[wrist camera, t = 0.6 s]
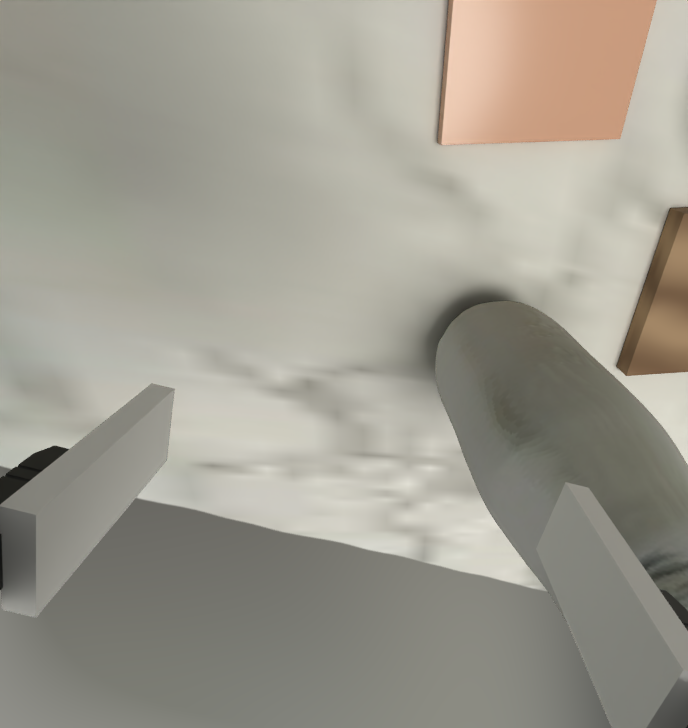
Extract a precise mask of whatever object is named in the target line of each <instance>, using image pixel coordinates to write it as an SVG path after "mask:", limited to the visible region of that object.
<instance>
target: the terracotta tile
mask: <svg viewBox="0 0 688 728" xmlns="http://www.w3.org/2000/svg"><path fill="white" fill-rule="evenodd" d="M656 1H657V0H449V4H448V16H447V29H446V42H445V54H444V67H443V80H442V92H441V105H440V118H439V130H438V143H439V144H441V145H455V144H485V143H514V142H543V141H572V140H602V139H620V137H621V133H622V130H623V126H624V122H625V118H626V114H627V111H628V107H629V103H630V99H631V96H632V92H633V88H634V84H635V80H636V77H637V73H638V69H639V65H640V62H641V58H642V54H643V50H644V47H645V43H646V39H647V35H648V31H649V28H650V24H651V20H652V16H653V13H654V9H655V5H656Z"/></svg>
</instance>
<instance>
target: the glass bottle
mask: <svg viewBox="0 0 688 728" xmlns="http://www.w3.org/2000/svg"><path fill="white" fill-rule="evenodd" d="M435 374H436V383H437V387H438V391H439V394H440V397H441V400H442V402H443V405H444V407H445V409H446V412H447V414H448V416H449V419H450V421H451V423H452V425H453V428H454V430H455V433H456V435H457V438H458V441H459V444H460V446H461V449H462V452H463V455H464V457H465V460H466V462H467V465H468V467H469V470H470V472H471V475H472V477H473V480H474V482H475V484H476V487H477V489H478V491H479V493H480V495H481V497H482V499H483V501H484V503H485V505H486V507H487V509H488V510H489V512H490V514H491V515H492V517H493V519H494V520H495V522H496V523H497V524H498V526H499V527H500V529H501V530H502V531H503V533H504V534H505V536H506V537H507V538H508V540H509V541H510V542H511V544H512V545H513V547H514V548H515V549H516V551H517V552H518V553H519V555H520V556H521V557H522V559H523V560H524V561H525V563H526V564H527V565H528V567H529V568H530V569H531V570H532V572H533V573H534V574H535V575H536V577H537V578H538V579H539V580H540V582H541V583H542V584H543V586H544V587H545V588H546V590H547V591H548V593H549V594H550V596H551V598H552V599H553V601H554V603H555V604H556V606H557V607H558V609H559V611H560V612H561V613H562V615H563V617H564V619H565V616H564V614H563V611H562V609H561V607H560V604H559V602H558V600H557V597H556V595H555V593H554V590H553V588H552V585H551V583H550V581H549V578H548V576H547V574H546V571H545V569H544V567H543V564H542V562H541V559H540V557H539V555H538V552H537V550H536V548H537V545H538V543H539V541H540V539H541V536H542V534H543V532H544V530H545V527H546V525H547V523H548V521H549V518H550V516H551V514H552V512H553V509H554V507H555V505H556V503H557V500H558V498H559V496H560V494H561V491H562V489H563V487H564V485H565V482H567V483H571V484H575V485H580V486H584V487H588V488H589V489H590V491H591V492H592V493H593V495H594V496H595V498H596V499H597V501H598V502H599V504H600V505H601V506H602V508H603V509H604V511H605V512H606V514H607V515H608V517H609V518H610V519H611V521H612V522H613V524H614V525H615V527H616V528H617V530H618V531H619V532H620V534H621V535H622V537H623V538H624V540H625V541H626V543H627V544H628V545H629V547H630V548H631V550H632V551H633V553H634V554H635V556H636V557H637V558H638V560H639V561H640V563H641V564H642V566H643V567H644V568H645V570H646V571H647V573H648V574H649V576H650V577H651V579H652V580H653V581H654V583H655V584H656V586H657V587H658V589H661V590H665V591H667V592H668V593H670V594H671V595H672V596H673V597H674V598H675V599H676V600H677V601H678V602H679V603H680V604H681V605H683V606H684V607H685V608H686V609H687V611H688V465H687V463H686V462H685V460H684V458H683V456H682V455H681V453H680V452H679V450H678V448H677V447H676V445H675V444H674V442H673V441H672V439H671V438H670V436H669V435H668V433H667V432H666V431H665V429H664V428H663V427H662V426H661V425H660V423H659V422H658V421H657V420H656V419H655V417H654V416H653V415H652V414H651V413H650V412H649V411H648V410H647V409H646V408H645V406H644V405H643V404H642V403H641V402H640V401H639V400H638V399H637V398H636V397H635V396H634V395H633V394H632V393H631V392H630V391H629V390H628V389H627V388H626V387H625V386H624V385H623V384H621V383H620V382H619V381H618V380H617V379H616V378H615V377H614V376H613V375H612V374H611V373H610V372H609V371H608V370H607V369H605V368H604V367H603V366H602V365H601V364H600V363H599V362H598V361H597V360H596V359H595V358H593V357H592V356H591V355H590V354H589V353H588V352H587V351H586V350H585V349H584V348H583V347H582V346H581V345H580V344H579V343H578V342H577V341H576V340H575V339H574V338H573V337H572V336H571V335H570V334H569V333H568V332H567V331H566V330H565V329H564V328H562V327H561V326H560V325H559V324H558V323H556V322H555V321H554V320H553V319H551V318H550V317H548V316H547V315H545V314H544V313H542V312H541V311H539V310H537V309H535V308H533V307H531V306H528V305H525V304H522V303H518V302H512V301H496V302H488V303H482V304H478V305H475V306H473V307H470V308H469V309H467V310H465V311H463V312H462V313H461V314H460V315H459V316H458V317H457V318H456V319H454V320H453V321H452V322H451V323H450V325H449V326H448V328H447V330H446V331H445V333H444V335H443V336H442V338H441V340H440V341H439V344H438V348H437V353H436V371H435ZM565 620H566V619H565ZM566 622H567V621H566Z"/></svg>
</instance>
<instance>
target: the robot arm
mask: <svg viewBox="0 0 688 728" xmlns="http://www.w3.org/2000/svg"><path fill="white" fill-rule="evenodd" d="M174 390H175V389H173V388H169V387H165V386H160V385H156V384H151V385H149V386H148V387H147V388H146V389H144V390H143V391H142V392H141V393H139V394H138V395H137V396H136V397H134V398H133V399H132V400H131V401H129V402H128V403H127V404H126V405H124V406H123V407H122V408H121V409H119V410H118V411H117V412H116V413H114V414H113V415H112V416H110V417H109V418H108V419H107V420H105V421H104V422H103V423H102V424H100V425H99V426H98V427H97V428H95V429H94V430H93V431H92V432H90V433H89V434H88V435H87V436H85V437H84V438H83V439H82V440H80V441H79V442H78V443H77V444H75V445H74V446H73V447H72V448H70V449H66V448H62V447H58V446H52V447H50V448H47V449H44V450H42V451H39V452H37V453H34V454H33V455H31V456H30V457H28V458H27V459H26V460H24V461H23V462H22V463H20V464H19V465H18V467H15V468H13V469H12V470H11V471H9V472H8V473H7V474H6V476H5V477H4V476H3V477H1V478H0V590H1V599H2V610H6V611H11V612H15V613H19V614H23V615H27V616H31V617H37V616H38V615H39V613H40V612H41V611H42V610H43V608H44V607H45V606H46V605H47V604H48V603H49V601H50V600H51V599H52V598H53V596H54V595H55V594H56V593H57V592H58V591H59V589H60V588H61V587H62V586H63V585H64V583H65V582H66V581H67V580H68V579H69V577H70V576H71V575H72V574H73V573H74V571H75V570H76V569H77V568H78V566H79V565H80V564H81V563H82V562H83V561H84V559H85V558H86V557H87V556H88V554H89V553H90V552H91V551H92V550H93V548H94V547H95V546H96V545H97V544H98V542H99V541H100V540H101V539H102V538H103V536H104V535H105V534H106V533H107V532H108V530H109V529H110V528H111V527H112V525H113V524H114V523H115V522H116V521H117V520H118V518H119V517H120V516H121V515H122V514H123V512H124V511H125V510H126V509H127V508H128V506H129V505H130V504H131V503H132V502H133V500H134V499H135V498H136V497H137V496H138V494H139V493H140V492H141V491H142V490H143V488H144V487H145V486H146V485H147V484H148V482H149V481H150V480H151V479H152V478H153V476H154V475H155V474H156V473H157V472H158V470H159V469H160V468H161V467H162V466H163V464H164V463H165V462H166V461H167V454H168V445H169V436H170V426H171V417H172V408H173V399H174ZM536 550H537V552H538V555H539V557H540V559H541V562H542V564H543V567H544V569H545V571H546V574H547V576H548V578H549V581H550V583H551V585H552V588H553V590H554V593H555V595H556V597H557V600H558V602H559V604H560V607H561V609H562V611H563V614H564V616H565V619H566V621H567V623H568V626H569V628H570V630H571V632H572V635H573V637H574V640H575V642H576V644H577V647H578V649H579V652H580V654H581V656H582V659H583V661H584V663H585V665H586V668H587V670H588V673H589V675H590V677H591V680H592V682H593V684H594V687H595V689H596V692H597V694H598V696H599V699H600V701H601V704H602V706H603V708H604V711H605V713H606V715H607V718H608V720H609V722H610V725H611V727H612V728H688V611H687V609H686V608H685V607H684V606H683V605H681V604H680V603H679V602H678V601H677V600H676V599H675V598H674V597H673V596H672V595H671V594H670V593H668V592H667V591H665V590H661V589H658V587H657V586H656V584H655V583H654V581H653V580H652V579H651V577H650V576H649V574H648V573H647V571H646V570H645V568H644V567H643V566H642V564H641V563H640V561H639V560H638V558H637V557H636V556H635V554H634V553H633V551H632V550H631V548H630V547H629V545H628V544H627V543H626V541H625V540H624V538H623V537H622V535H621V534H620V532H619V531H618V530H617V528H616V527H615V525H614V524H613V522H612V521H611V519H610V518H609V517H608V515H607V514H606V512H605V511H604V509H603V508H602V506H601V505H600V504H599V502H598V501H597V499H596V498H595V496H594V495H593V493H592V492H591V491H590V489H589V488H588V487H584V486H580V485H575V484H571V483H567V482H565V485H564V487H563V489H562V491H561V494H560V496H559V498H558V500H557V503H556V505H555V507H554V509H553V512H552V514H551V516H550V518H549V521H548V523H547V525H546V527H545V530H544V532H543V534H542V536H541V539H540V541H539V543H538V545H537V548H536Z"/></svg>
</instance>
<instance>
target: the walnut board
mask: <svg viewBox="0 0 688 728" xmlns="http://www.w3.org/2000/svg"><path fill="white" fill-rule="evenodd" d="M617 368H619V369H620V370H621V371H622V372H623V373H624V374H625V375H626V376H631V375H646V374H661V373H676V372H688V207H682V208H670V211H669V214H668V217H667V220H666V222H665V225H664V228H663V231H662V234H661V237H660V240H659V243H658V246H657V249H656V252H655V255H654V258H653V261H652V264H651V267H650V270H649V272H648V275H647V278H646V281H645V284H644V287H643V290H642V293H641V296H640V299H639V302H638V305H637V308H636V311H635V314H634V317H633V320H632V322H631V325H630V328H629V331H628V334H627V337H626V340H625V343H624V346H623V349H622V352H621V355H620V358H619V361H618V364H617Z"/></svg>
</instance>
